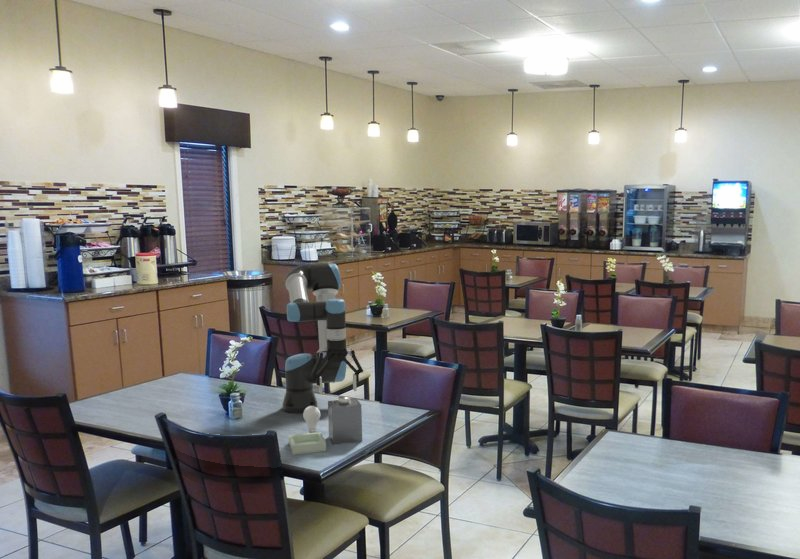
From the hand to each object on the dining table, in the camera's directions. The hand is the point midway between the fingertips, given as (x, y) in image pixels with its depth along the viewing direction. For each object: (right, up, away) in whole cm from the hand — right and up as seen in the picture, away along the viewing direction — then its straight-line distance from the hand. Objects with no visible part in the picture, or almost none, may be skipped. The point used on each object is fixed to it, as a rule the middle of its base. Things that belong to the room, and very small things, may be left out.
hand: (337, 391), depth 269 cm
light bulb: (-9, -16, -4) cm, 19 cm away
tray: (-10, -17, -19) cm, 27 cm away
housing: (+4, -16, -11) cm, 20 cm away
